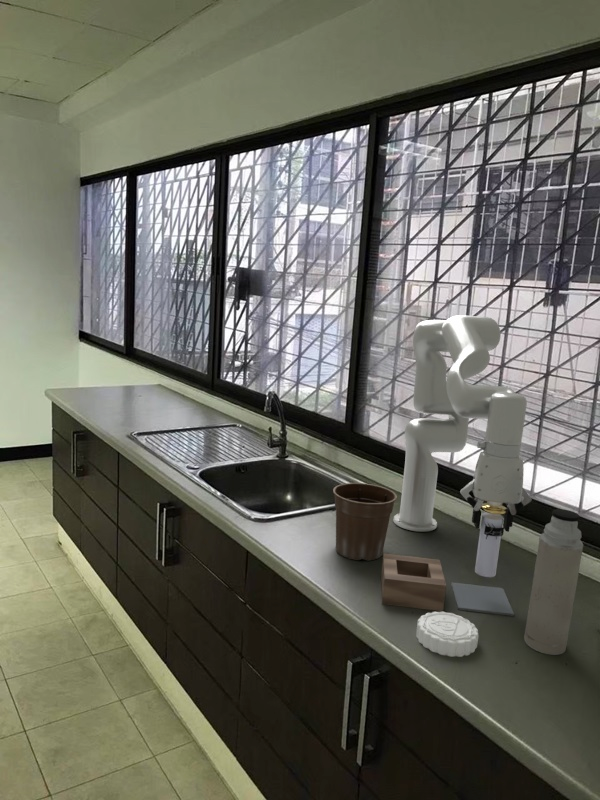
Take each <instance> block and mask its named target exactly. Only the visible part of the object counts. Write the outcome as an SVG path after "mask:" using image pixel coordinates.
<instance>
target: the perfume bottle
mask: <svg viewBox="0 0 600 800" xmlns="http://www.w3.org/2000/svg"><path fill="white" fill-rule="evenodd" d="M507 508H508V507H505V506H504V505H503V503H500V502H491V501H486V502H483V504H482V505H481V507H480V510H481V511H482V512H483V513H481V520H480V527H479V535H478V536H479V537H478V544H477V551H476V559H475V566H474V573H476V574H477V575H478V576H481V577H486V578H493V577H495V576H497V575H496V574H497V567H498V559H499V551H500V547H501V540H502V538H503V536H504V531H505V529H504V527H503V522H504V515H505V514H506V513H507Z"/></svg>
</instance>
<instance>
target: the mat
mask: <svg viewBox="0 0 600 800" xmlns="http://www.w3.org/2000/svg"><path fill="white" fill-rule="evenodd" d="M450 585H451V588H452V593H453V597H454V599H455V603H456V608H457V610H458V611H459V610H460V611H468V612H474V613H475V612H476V613H477V612H478V613H485V614H493V615H501V616H502V615H503V616H509V617H514V616H515V613H514V611H513V608H512V605H511V604H510V602H509V601H510V600H509V599H508V597H507V596H508V595H507V594H506V592H505V589H504V588H503V587H498V586H486V585H479V584H478V585H477V584H470V583H469V584H467V583H460V582H451V583H450Z"/></svg>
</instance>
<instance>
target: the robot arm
mask: <svg viewBox="0 0 600 800" xmlns="http://www.w3.org/2000/svg"><path fill="white" fill-rule="evenodd" d="M500 340H501V329H500V326H499V324H498V322H497V321H496V320H495V319H494V318H491V317H488V316H477V315H476V316H475V315H461V314H459V315H454V316H451V317H449V318H447V319H446V320H443V319H442V320H441V319H429V320H423V321H420V322H419V323H418V324H417V325H416V326H415V329H414V331H413V335H412V347H413V352H414V357H415V364H416V365H415V374H414V375H415V376H414V386H413V387H414V389H413V407H414V410H415V411H416V412H417V413H420V414H425V415H426V414H427V415H440V416H441V415H444V416H445V415H446V416H448V418H430V417H429V418H427V417H425V418H424V417H422V418H420V417H419V418H414V419H412V420H410V421H409V422H408V423H407V424H406V426H405V429H404V440H405V441H404V443H405V445H404V446H405V459H404V460H405V461H404V470H403V477H402V478H403V481H402V488H401V497H400V507H399V513H397V514H395V515H394V516H393V522H394V524H395V525H396V526H397V527H399V528H401V529H404V530H409V531H413V532H421V533H423V532H424V533H425V532H432V531H433V530H435V529H437V527H438V522H437V520H436V519H435V518H433V516H434V506H435V500H436V499H435V498H436V489H437V481H438V474H439V467H438V464H437V461H436V460H435V458H434V457H433V456H432V453H459V452H461V451H462V450H464V448H465V446H466V444H467V438H468V430H469V421H470V420H469V419H483V420H484V419H485V420H487V422H486V430H485V437H484V438H483V441H478V442H477V445H476V446H477V447H476V448H477V449H481V450H482V451H480V453H479V455H478V457H477V462H476V464H475V465H476V466H475V470H474V473H473V478H472V480H471V481H470V482H468V483H467V484H466V485H465V486H463V488H461V489H460V491H459V492H460V495H461V496H462V497H463V498H464V500H466V501H467V503H468V504H469V505H470V506H471V508H472V516H471V523H472V524H474V527H475V529H480V527H481V520H482V510H481V509H480V507H481V505H482V504H483V503H485V502H487V501H491V502H500V503H502V504H506V506H507V507H506V508H507V513H506V514H503V525H502V528H503V527H504V531H505V532H508V533H509V532H510V528H513V522H514V516H515V515H516V514H517V512H519V511H520V510H522V509H523V508H524V506H527V505H528V504H530V503H531V502H532V501H533V500H532V498H531V496H530V495H529V494H528V493H527V491H526V489H524V472H525V471H524V458H523V457H522V456H521V455H520V453H521V447H522V440H523V432H524V425H525V420H526V411H527V407H528V405H527V403H528V402H527V399H526V397H525V396H524V395H523V394H520V393H516V392H515V391H514V390H513V389H512V388H510V387H508V386H502V385H501V386H499V385H498V386H497V385H485V384H484V385H483V384H467V383H466V381H465V380H466V379H469V378H471V377H474V376H476V375H479V374H480V373H481V372H483V371H484V370H486V369H487V367H488V366H489V364H490V360H491V355H490V351H492V350H494V349H496V348H497V347H498V345H499V343H500ZM441 352H442V353H449V354H450V357H451V360H452V362H453V364H452V365H451V366H450V369H449V371H448V374H447V370H448V365H447V362H446V360H445V357H444V356H443V354H442V353H441ZM470 492H472V493H473V496H474V497H472V496H471V495H470Z"/></svg>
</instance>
